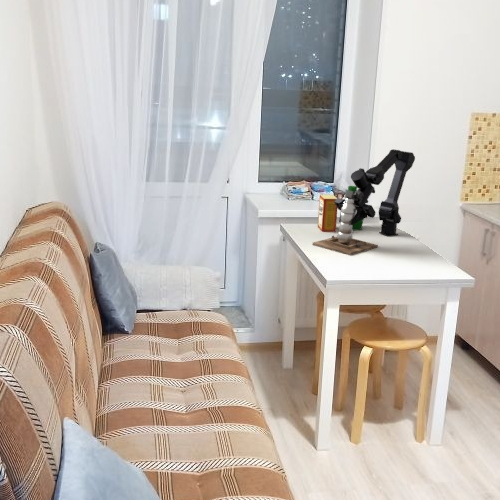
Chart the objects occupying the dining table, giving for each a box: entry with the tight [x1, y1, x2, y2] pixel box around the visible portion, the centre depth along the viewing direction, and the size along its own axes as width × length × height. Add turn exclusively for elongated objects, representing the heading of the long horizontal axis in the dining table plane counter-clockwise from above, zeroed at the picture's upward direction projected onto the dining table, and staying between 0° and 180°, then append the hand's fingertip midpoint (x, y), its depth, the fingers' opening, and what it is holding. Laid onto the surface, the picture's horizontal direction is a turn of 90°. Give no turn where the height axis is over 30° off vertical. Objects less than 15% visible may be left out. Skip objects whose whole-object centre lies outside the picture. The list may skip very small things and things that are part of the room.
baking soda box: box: [317, 194, 338, 233], centre depth 311 cm, size 10×6×16 cm
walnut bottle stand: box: [312, 235, 379, 256], centre depth 285 cm, size 20×20×3 cm
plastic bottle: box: [336, 197, 356, 243], centre depth 282 cm, size 6×7×20 cm
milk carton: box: [347, 185, 365, 231], centre depth 315 cm, size 9×9×20 cm
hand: (345, 223), depth 282 cm, fingers closed on plastic bottle, 6 cm apart
